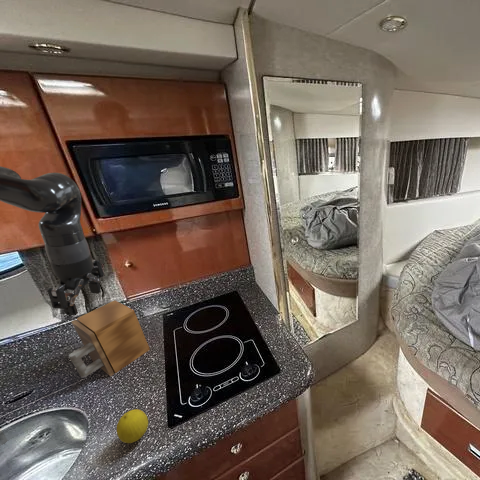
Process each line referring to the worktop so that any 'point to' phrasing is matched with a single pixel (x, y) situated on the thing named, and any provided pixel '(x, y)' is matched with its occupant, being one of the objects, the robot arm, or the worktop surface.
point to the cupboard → (116, 333)
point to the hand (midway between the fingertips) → (85, 303)
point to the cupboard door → (89, 348)
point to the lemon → (132, 426)
